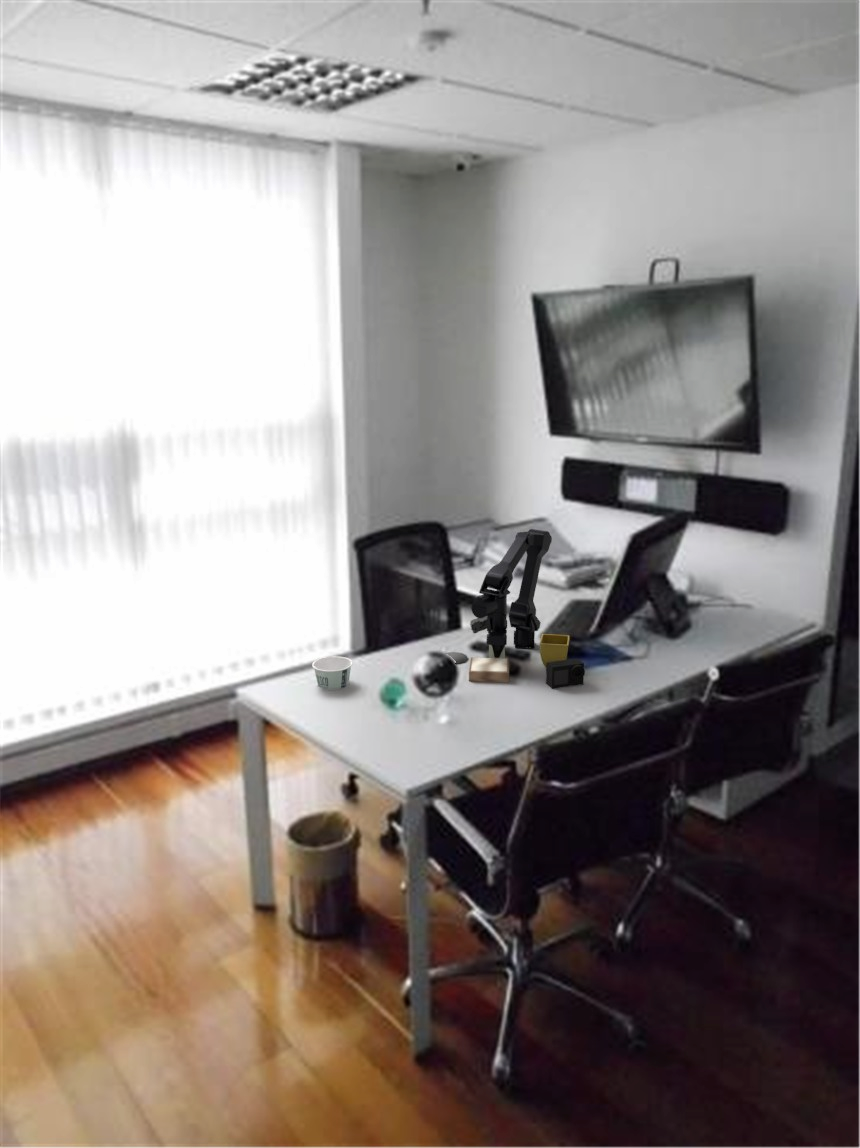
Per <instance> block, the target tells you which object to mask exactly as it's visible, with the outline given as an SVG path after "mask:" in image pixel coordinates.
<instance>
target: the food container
mask: <svg viewBox="0 0 860 1148" xmlns="http://www.w3.org/2000/svg"><path fill="white" fill-rule="evenodd" d="M352 666H353V660H352V659H350V658H348V657H345V656H339V655H338V656H335V655H333V656H324V657H321V658H318V659H316V660H314V661H313V662H312V664H311V667H312V668H313V669H314V673H315V677H316V681H317V686H318V687H319V688H320V689H322V690H341V689H343V688H346V687H347V686H348V685H349V683H350V675H351V669H352Z"/></svg>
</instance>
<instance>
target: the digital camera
mask: <svg viewBox="0 0 860 1148" xmlns="http://www.w3.org/2000/svg"><path fill="white" fill-rule="evenodd" d="M545 669H546V670H545V684H546V685H547V686H548V687H549V688H551V689H562V688H567V687H575V686H576V687H577V686H582V685H584V682H585V681H584V676H585V674H586V671H585V662H584V661H582V660H581V659H580V658H571V659H570V658H569V659H566V660H561V661H554V662H547V663H546V668H545Z"/></svg>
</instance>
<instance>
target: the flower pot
mask: <svg viewBox="0 0 860 1148" xmlns="http://www.w3.org/2000/svg"><path fill="white" fill-rule="evenodd" d="M570 638H571V637H570V635H569V634H568V635H567V634H566V635H565V634H554V633H553V634H551V633H549V634H548V633H542V634H541V638H540V641H539V652H540V659H541V662H542V665H543V666H544V668H545V669H546V663H547V662H554V661H561V660H567V658H568V651H569V644H570Z"/></svg>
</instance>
